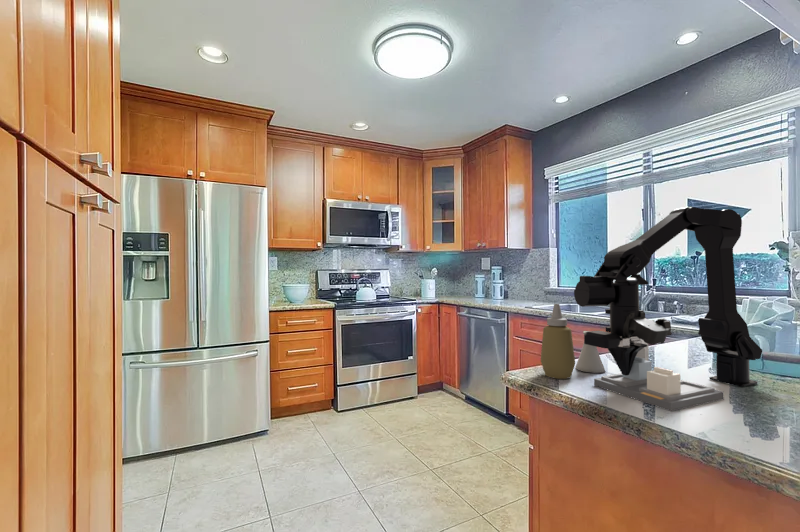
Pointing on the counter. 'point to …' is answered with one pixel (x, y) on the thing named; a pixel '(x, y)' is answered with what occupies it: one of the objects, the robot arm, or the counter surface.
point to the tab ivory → (663, 381)
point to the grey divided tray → (638, 390)
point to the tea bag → (644, 352)
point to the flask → (589, 359)
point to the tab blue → (639, 369)
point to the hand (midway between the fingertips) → (625, 375)
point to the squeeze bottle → (557, 347)
